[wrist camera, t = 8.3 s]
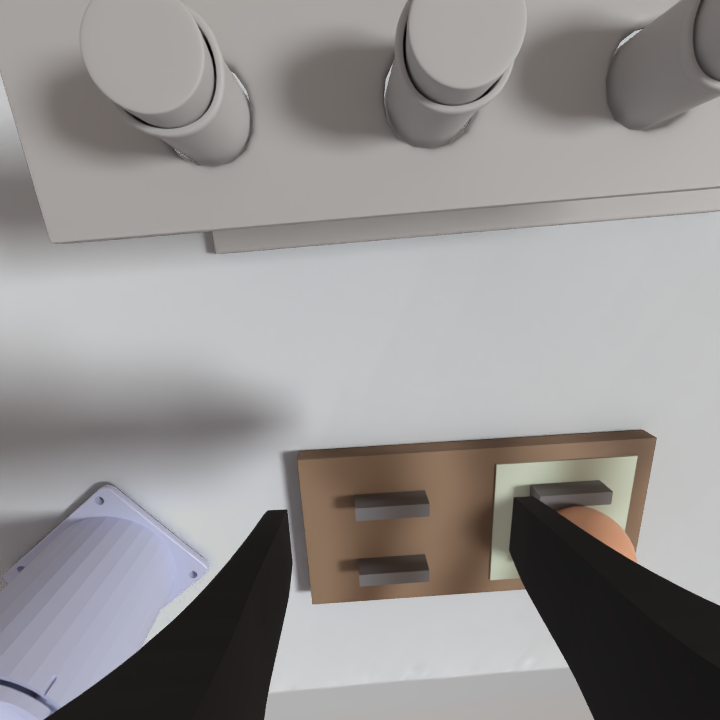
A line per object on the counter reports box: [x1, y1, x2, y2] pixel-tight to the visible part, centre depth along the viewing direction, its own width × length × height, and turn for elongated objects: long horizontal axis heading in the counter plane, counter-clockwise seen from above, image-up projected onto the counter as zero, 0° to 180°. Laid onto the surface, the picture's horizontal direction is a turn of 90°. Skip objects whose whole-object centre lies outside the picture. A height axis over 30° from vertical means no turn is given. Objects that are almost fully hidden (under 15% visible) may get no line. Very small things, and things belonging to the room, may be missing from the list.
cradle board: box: [297, 430, 657, 604], centre depth 22 cm, size 20×10×2 cm, turn 93°
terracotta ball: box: [556, 506, 637, 563], centre depth 19 cm, size 4×4×4 cm
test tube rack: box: [0, 0, 720, 254], centre depth 11 cm, size 25×4×13 cm, turn 95°
